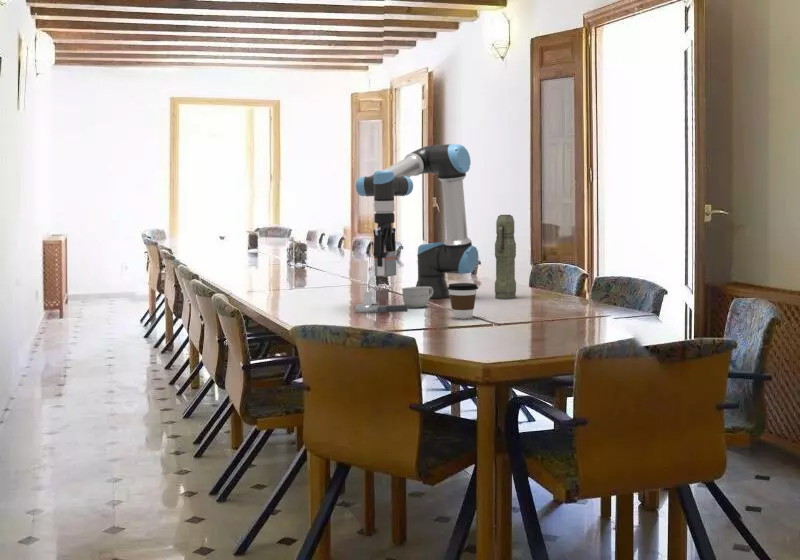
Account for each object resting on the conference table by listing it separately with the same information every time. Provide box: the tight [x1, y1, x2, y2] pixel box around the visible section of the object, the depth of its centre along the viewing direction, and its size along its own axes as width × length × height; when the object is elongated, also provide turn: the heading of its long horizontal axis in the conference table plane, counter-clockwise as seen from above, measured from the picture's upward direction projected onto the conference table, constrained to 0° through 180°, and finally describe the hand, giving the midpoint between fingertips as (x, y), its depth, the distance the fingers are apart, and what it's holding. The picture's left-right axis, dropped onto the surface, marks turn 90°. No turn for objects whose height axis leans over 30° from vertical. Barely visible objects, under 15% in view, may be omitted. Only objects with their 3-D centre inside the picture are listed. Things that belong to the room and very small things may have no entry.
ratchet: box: [355, 291, 408, 314], centre depth 359 cm, size 20×9×8 cm, turn 95°
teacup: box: [401, 286, 433, 309], centre depth 371 cm, size 14×11×8 cm
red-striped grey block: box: [373, 250, 397, 277], centre depth 352 cm, size 6×6×9 cm
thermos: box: [494, 214, 517, 300], centre depth 396 cm, size 9×12×35 cm
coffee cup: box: [447, 282, 479, 320], centre depth 338 cm, size 11×11×12 cm
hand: (385, 274), depth 352 cm, fingers closed on red-striped grey block, 6 cm apart
